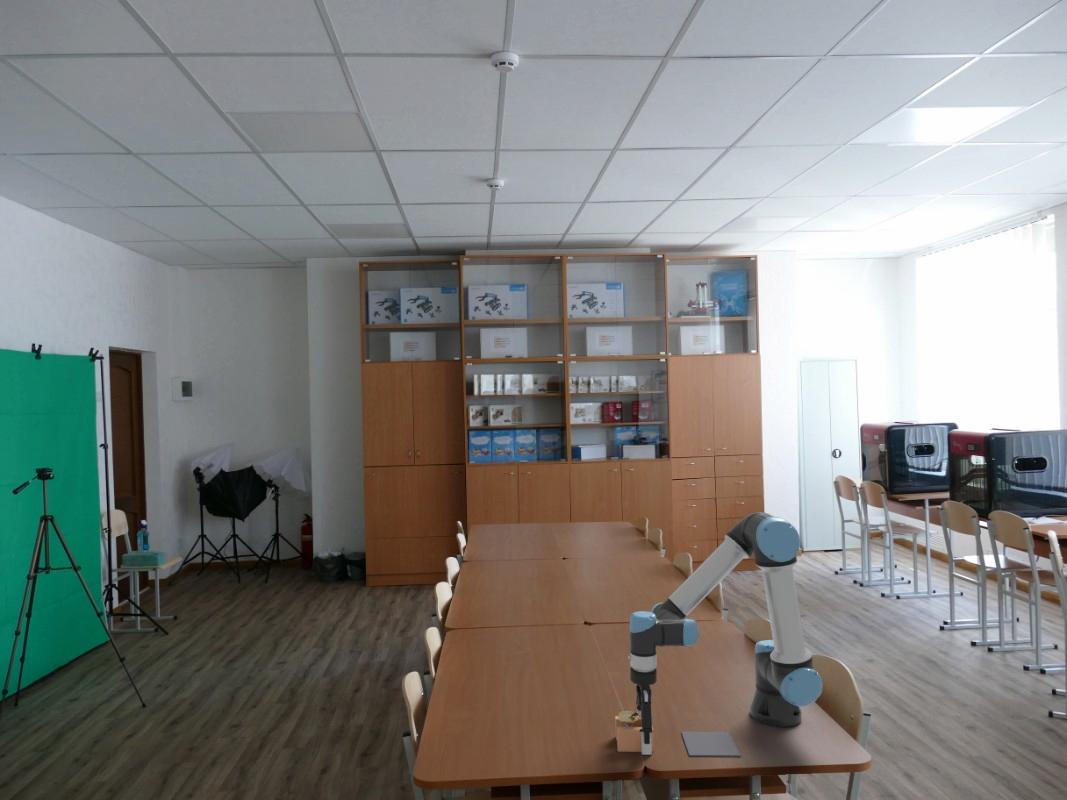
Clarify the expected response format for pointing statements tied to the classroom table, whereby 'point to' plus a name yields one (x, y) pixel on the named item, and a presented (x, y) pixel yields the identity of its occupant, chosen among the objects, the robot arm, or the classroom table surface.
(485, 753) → the classroom table surface
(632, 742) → the c link
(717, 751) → the mat
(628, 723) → the knob post
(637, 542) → the classroom table surface
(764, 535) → the robot arm
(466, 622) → the classroom table surface
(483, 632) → the classroom table surface
